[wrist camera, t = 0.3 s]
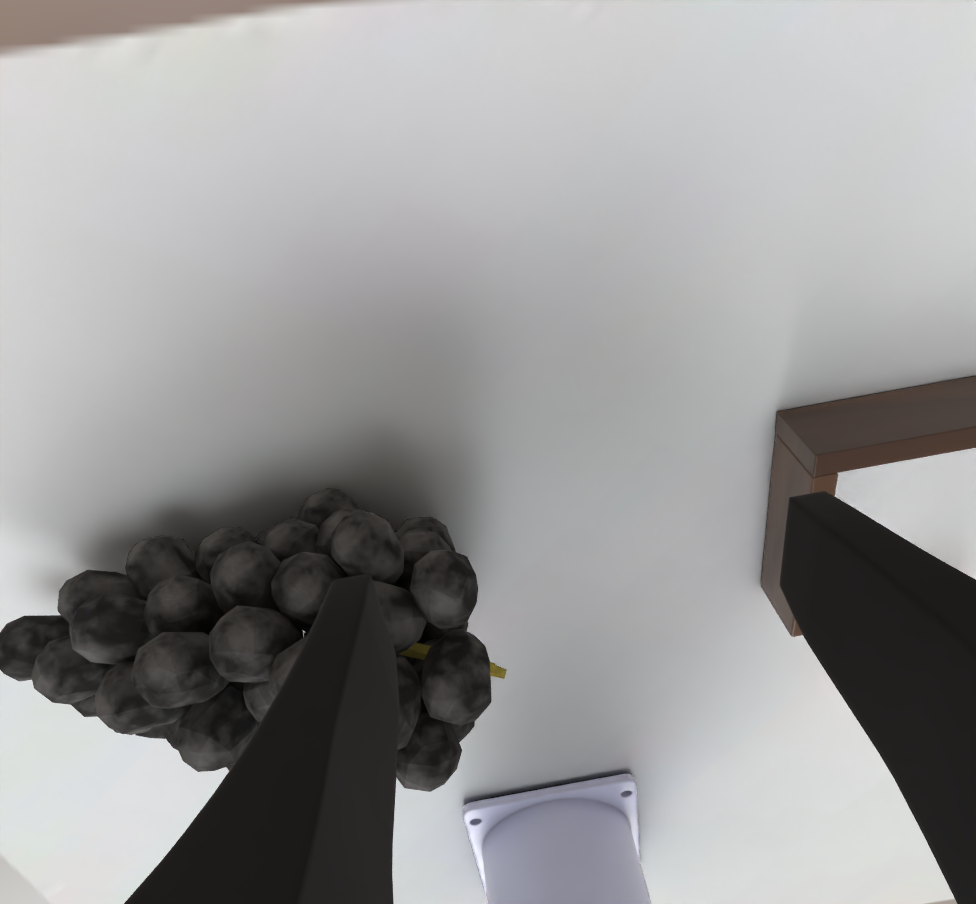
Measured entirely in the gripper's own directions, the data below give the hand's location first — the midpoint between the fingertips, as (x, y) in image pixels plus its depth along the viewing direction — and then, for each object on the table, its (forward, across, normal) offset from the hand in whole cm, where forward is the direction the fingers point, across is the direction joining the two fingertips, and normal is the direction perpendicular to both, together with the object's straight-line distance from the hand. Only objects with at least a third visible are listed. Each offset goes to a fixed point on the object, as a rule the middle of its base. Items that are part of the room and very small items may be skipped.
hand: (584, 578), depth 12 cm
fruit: (+10, +9, +6) cm, 15 cm away
